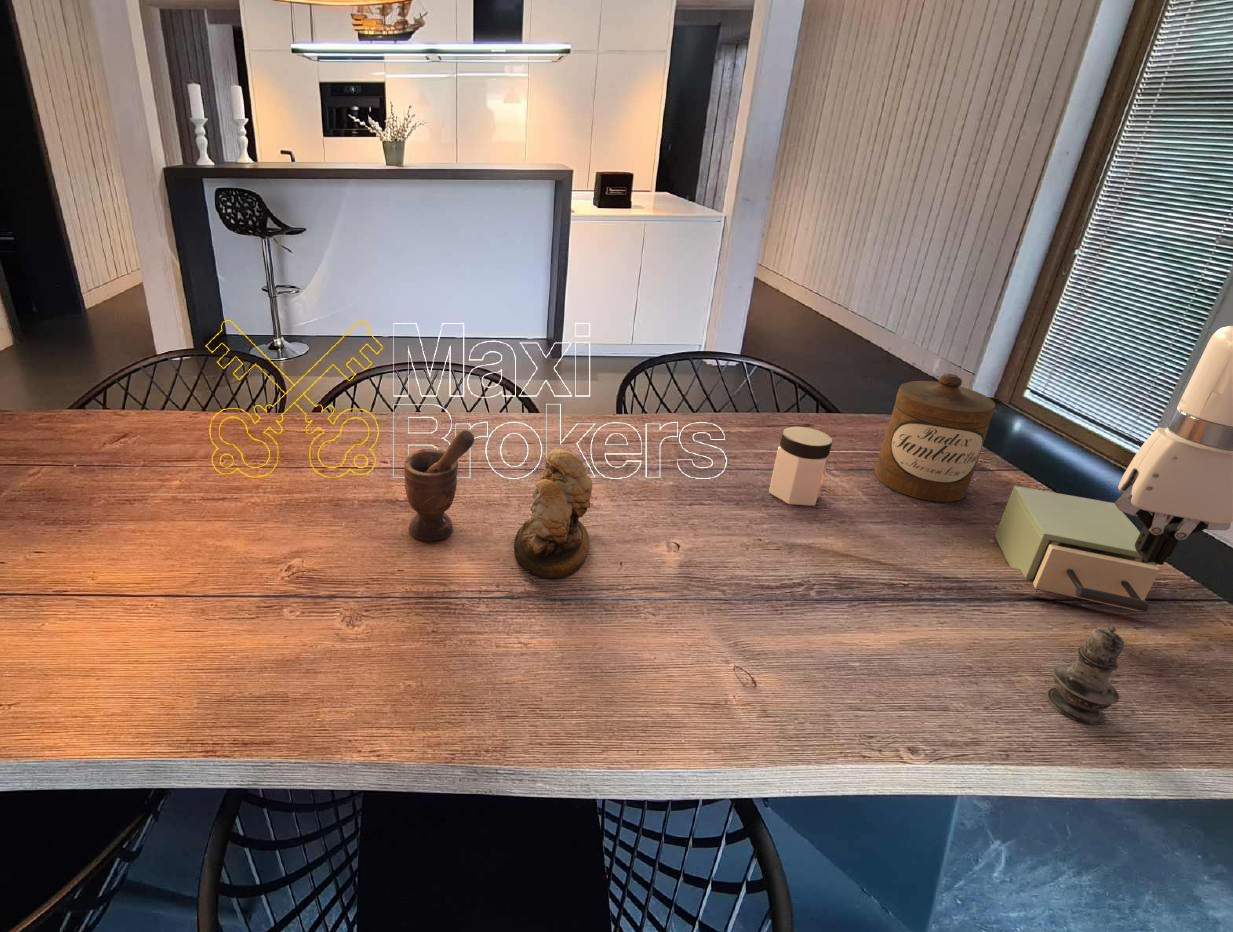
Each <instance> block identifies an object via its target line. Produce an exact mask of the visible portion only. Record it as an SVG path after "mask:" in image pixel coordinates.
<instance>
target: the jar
mask: <svg viewBox="0 0 1233 932" xmlns="http://www.w3.org/2000/svg"><path fill="white" fill-rule="evenodd" d="M832 447H833V439H832V438H831V436H829V435H828V434H827V433H825V432H823V431H821V430H818V429H815V428H811V427H807V426H805V427H804V426H789V427H786V428H784V429H783V430H782V432H781V435H780V441H779V445H778V448H777V451H776V455H775V456H776V457H775V461H774V465H773V470H772V475H771V479H770V485H769V489H768V493H769V494H770V495H772V496H773V497H775V498H777V499H779V500H780V501H782V502H784V503H785V504H787V505H791V506H792V505H793V506H811V507H814V506H816V503H817V501H818V499H819V497H820V494H821V489H822V486H823V482H824V478H825V474H826V470H827V465H828V462H829V457H830V455H831V449H832Z"/></svg>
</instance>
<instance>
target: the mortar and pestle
mask: <svg viewBox="0 0 1233 932" xmlns="http://www.w3.org/2000/svg"><path fill="white" fill-rule="evenodd" d="M474 443H475V436H474V434H473V432H471V431H470V430H468V429H467V430H466V429H465V430H461V431H459V432H458V433H457V434H456V435H455V436H454V438H453V439H452V441H451V442H450V444H449V446H448V447H447V449H446V450H443V449H437V448H436V449H435V448H434V449H431V448H422V449H419V450H416V451H414V452H411V453H410V454H408V455H407V456H406V457H405V460H404V463H403V465H404V466H403V470H404V472H403V473H404V489H405V495H406V498H407V500H408V501H407V502H408V504H409V506H410V507H411V509H412V510H413V511H415V512H416V513H415V514H414V515H413V516H412V517H411V520H410V521H409V525H408V532H409V535H410V536H411V537H412V538H414V539H416V540H419V541H423V542H436V541H437V542H438V541H441V540H443V539H446V538H448V537H450V536H451V535H452V533H453V531H454V529H453V523H452V519H451V518H450V516H449V515H448V514H447V513H446V512H447V511H448V510H449V509H451V506H452V505H453V502H454V499H455V495H456V492H457V487H458V486H457V485H458V469H459V461H458V460H459V459H460V458H461V457H462V456H463V455H465V453H467V452H468V451H469V450H470V449H471V448H472V446H474Z"/></svg>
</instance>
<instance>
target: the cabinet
mask: <svg viewBox="0 0 1233 932" xmlns="http://www.w3.org/2000/svg"><path fill="white" fill-rule="evenodd" d="M1140 533H1141V531H1139V529H1138V528H1137V527H1136V526H1135V525H1134V524H1133V522H1132V521H1131V520H1130V519H1129V518H1128V516H1127V515H1126V513H1125V512H1122V511H1120V510H1119V509H1118V508H1117V507H1116V506H1115V502H1109V501H1104V500H1100V499H1093V498H1087V497H1081V496H1076V495H1069V494H1064V493H1059V492H1052V491H1048V490H1041V489H1036V488H1030V487H1025V486H1019V485H1013V488H1012V491H1011V493H1010V495H1009V498H1008V501H1007V503H1006V506H1005V509H1004V511H1003V513H1002V517H1001V518H1000V522H999V524H998V527H997V530H996V532H995V535H994V538H995V540H996V541H997V543H998V546H999V547H1000V550H1001V552H1002V553H1003V556H1004V557H1005V559H1006V562H1007V564H1008V565H1009V567H1010V568H1013V569H1017V570H1020V571H1021V573H1022V574H1023V577H1024V579H1026V580H1031V581H1034V579H1035V573H1036V571H1037V569H1038V566H1039V564H1040V562H1041V559H1042V557H1043V554H1044V552H1045V550H1046V547H1047V545H1048V543H1049V540H1052V541H1057V542H1062V543H1067V544H1072V545H1077V546H1082V547H1087V548H1092V549H1097V550H1102V551H1107V552H1113V553H1118V554H1123V555H1128V556H1133V557H1138V558H1142V557H1141V556H1140V554H1139V553H1138V552H1137V551H1136V548H1135V543H1136V541H1137V539H1138V537H1139V535H1140ZM1141 563H1146V564H1151V565H1156V566H1158V564H1156V563H1155V562H1152V563H1150V562H1145V561H1144V559H1143V558H1142V561H1141Z"/></svg>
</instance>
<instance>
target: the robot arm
mask: <svg viewBox="0 0 1233 932" xmlns="http://www.w3.org/2000/svg"><path fill="white" fill-rule="evenodd" d="M1117 488H1118V490H1119V492H1120V493H1122V494H1121V495H1120V496H1119V497H1118V498H1117V499H1116V500H1115V501H1114V503H1115V506H1116V507H1117V508H1118V509H1119V510H1120V511H1122V512H1123V513H1124V514H1127V515H1130V516H1132V517H1137V518H1138V520H1139V521H1140V522H1141V523H1142V525H1143V526H1142V529H1141V531H1140V535H1139V537H1138V539H1137V541H1136V543H1135V548H1136V551H1137V552H1138V553H1139V554H1140V556H1141V557H1142V558H1143V559H1144V561H1145V562H1150V563H1152V562H1155V563H1156V564H1157V565H1160V566H1163V565H1164V564H1165V562H1166V560H1167V558H1170V557H1171V556H1172V555H1173V553H1174V550H1175V549H1176V547H1177V545H1178V543H1179V541H1183V540H1187V538H1188V537H1189V536H1190V535H1192V534H1196V533H1199V532H1202V531H1204V530H1207V531H1228V530H1230V528H1231V524H1232V523H1233V325H1228V326H1224V327H1220V328H1219V329H1218V330H1216V331H1215V332H1214V333H1213V334H1212V335H1211V337H1210V339H1209V341H1207V344H1206V346H1205V348H1204V351H1203V353H1202V355H1201V357H1200V359H1199V361H1198V363H1197V365H1196V367H1195V369H1194V371H1193V373H1192V374H1191V377H1190V380H1189V382H1188V384H1187V386H1186V387H1185V390H1184V392H1183V394H1182V396H1181V398H1180V400H1179V402H1178V404H1177V406H1176V408H1175V410H1174V412H1173V414H1172V416H1171V418H1170V420H1169V423H1168V424H1167V426H1166V427H1157V428H1155V430H1154V431H1153V432H1152V433H1151V434H1150V435H1149V437H1148V438H1146V440H1145V441H1144V442H1143V444H1142V445H1141V447H1139V449H1138V450H1137V452H1136V454H1135V455H1134V457H1133V458H1132V460H1131V461H1130V462H1129V465H1128V466H1127V468H1126V470H1125V471H1124V473H1123V475H1122V477H1121V478H1120V481H1119V483H1118V487H1117Z"/></svg>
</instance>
